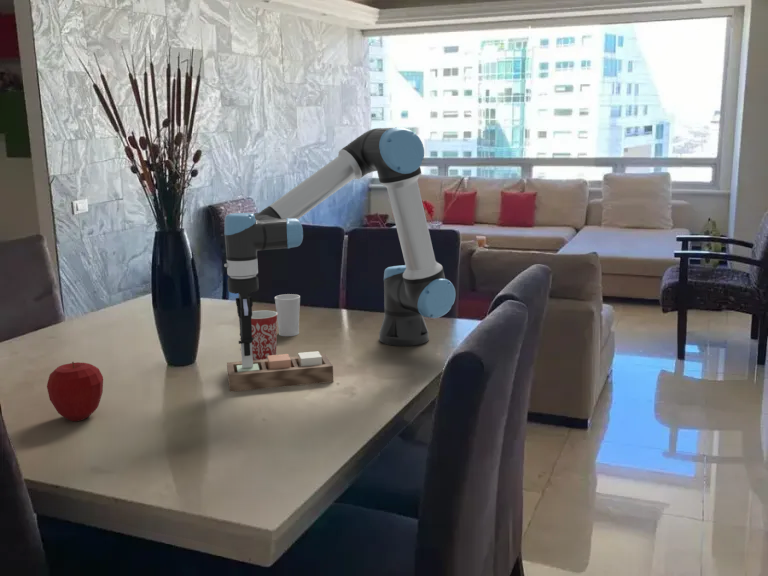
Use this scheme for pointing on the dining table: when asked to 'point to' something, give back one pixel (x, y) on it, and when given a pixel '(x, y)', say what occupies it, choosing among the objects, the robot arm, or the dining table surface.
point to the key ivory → (309, 358)
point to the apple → (75, 390)
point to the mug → (264, 334)
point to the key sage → (254, 368)
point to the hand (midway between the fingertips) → (247, 366)
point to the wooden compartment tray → (278, 375)
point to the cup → (288, 314)
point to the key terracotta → (279, 361)
